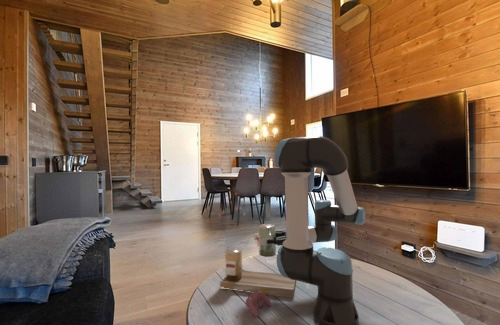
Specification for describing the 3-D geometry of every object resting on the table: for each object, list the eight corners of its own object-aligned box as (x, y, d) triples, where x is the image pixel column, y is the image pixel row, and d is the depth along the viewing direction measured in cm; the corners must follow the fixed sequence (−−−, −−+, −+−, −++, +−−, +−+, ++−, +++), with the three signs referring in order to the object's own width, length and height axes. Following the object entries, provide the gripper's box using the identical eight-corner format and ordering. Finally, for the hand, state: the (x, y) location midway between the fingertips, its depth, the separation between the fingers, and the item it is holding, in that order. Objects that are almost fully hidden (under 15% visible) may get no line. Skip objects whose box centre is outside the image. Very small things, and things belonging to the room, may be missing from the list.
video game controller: (264, 306, 100) (257, 288, 102) (273, 304, 97) (266, 286, 99) (248, 318, 92) (241, 298, 94) (257, 317, 89) (250, 296, 92)
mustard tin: (229, 273, 122) (228, 247, 122) (243, 274, 120) (243, 248, 120) (222, 280, 114) (222, 253, 114) (238, 282, 112) (238, 254, 112)
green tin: (271, 250, 118) (271, 223, 118) (278, 255, 111) (277, 227, 111) (255, 252, 115) (254, 225, 115) (261, 257, 108) (260, 229, 108)
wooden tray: (293, 297, 103) (293, 290, 103) (220, 289, 111) (219, 282, 111) (296, 280, 118) (296, 273, 118) (231, 274, 126) (231, 268, 126)
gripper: (314, 250, 107) (262, 255, 102) (295, 237, 127) (251, 241, 122) (314, 232, 107) (262, 237, 102) (295, 222, 127) (251, 225, 122)
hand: (256, 239), depth 112 cm, fingers closed on green tin, 7 cm apart
